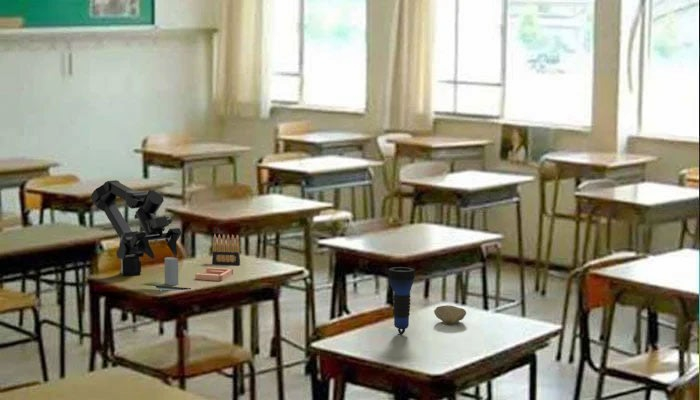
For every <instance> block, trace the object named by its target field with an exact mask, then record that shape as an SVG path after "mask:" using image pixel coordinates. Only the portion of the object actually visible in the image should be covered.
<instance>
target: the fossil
mask: <svg viewBox="0 0 700 400" xmlns="http://www.w3.org/2000/svg"><path fill="white" fill-rule="evenodd" d="M433 312H434V313H433V314H434V315H435V316H436V318H437V319H438V320H440V321H441V322H443V324H444V325H451V326H452V325H455V324H456V323H458V322H460V321H462V320H463V319H464V318H465V316H466V315H467V311H466V310H465V309H464V308H461V307H457V306H456V305H455V306H454V305H450V304H449V305H440V306H437V307H435V309H434V311H433Z"/></svg>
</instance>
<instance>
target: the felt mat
mask: <svg viewBox="0 0 700 400" xmlns="http://www.w3.org/2000/svg"><path fill="white" fill-rule="evenodd" d="M155 286H156V287H157V288H158V289H159V290H160V291H159V290H158V289H157V288H156V287H155V288H156V289H157V290H158V291H159V292H163V291H162V290H173V291H185V290H187V291H188V290H191V289H192V288H191V287H179V286H178V287H177V286H173V287H174V288H170V287H171V286H166V285H155Z"/></svg>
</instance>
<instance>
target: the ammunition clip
mask: <svg viewBox="0 0 700 400" xmlns="http://www.w3.org/2000/svg"><path fill="white" fill-rule="evenodd" d="M235 237H236V238H235ZM211 259H212V260H211V265H214V266H215V265H218V266H219V265H220V266H240V265H241V255H240V237H239V235H238V234H236V236H235V235H234V233H232V234H231V238H230V234H229V233H228V234H227V236H226V235H225V234H224V233H223V234H222V237H221V234H220V233H219V234H218V237H217V235H216V233H214V235H213V241H212V258H211Z"/></svg>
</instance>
